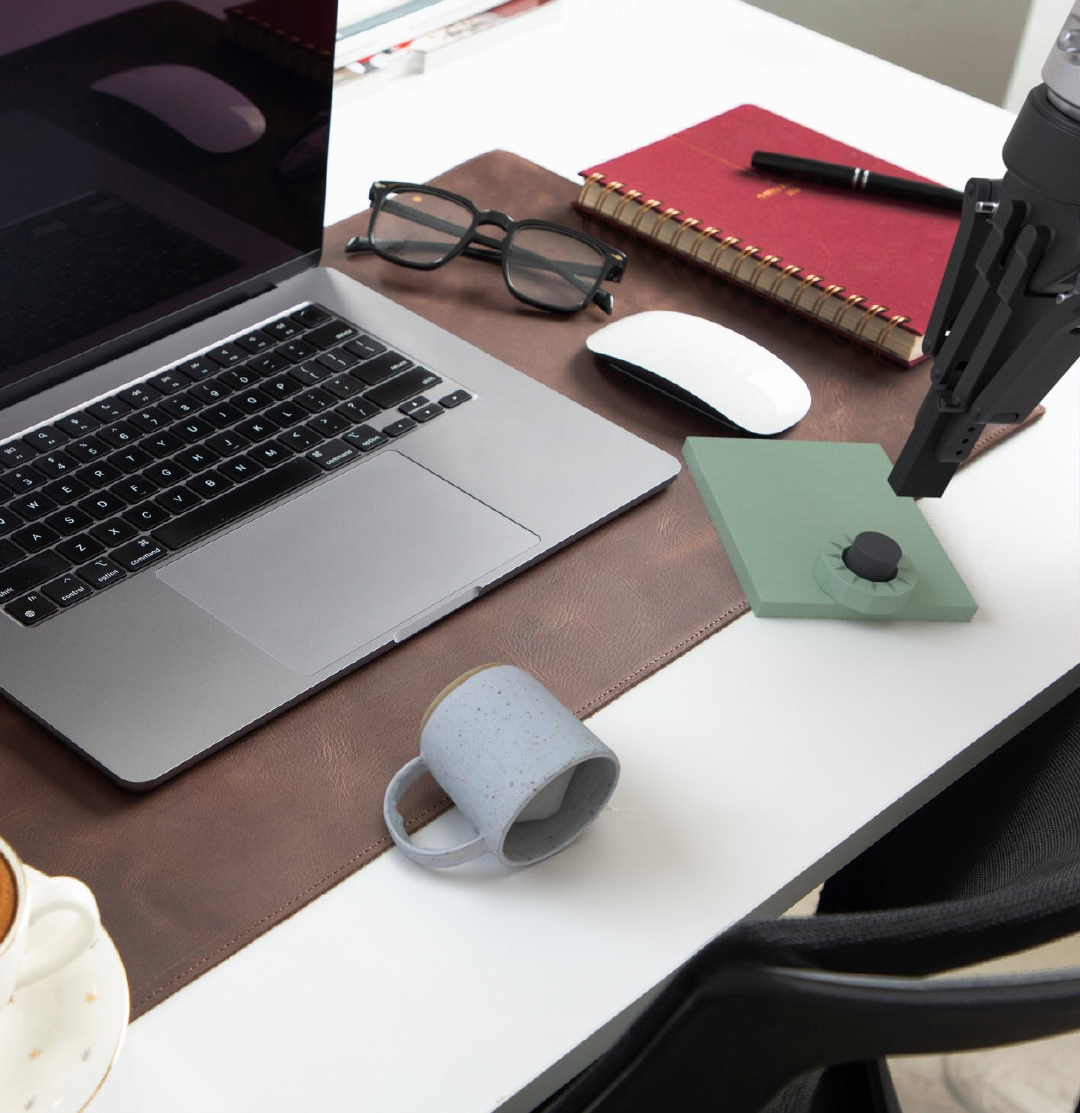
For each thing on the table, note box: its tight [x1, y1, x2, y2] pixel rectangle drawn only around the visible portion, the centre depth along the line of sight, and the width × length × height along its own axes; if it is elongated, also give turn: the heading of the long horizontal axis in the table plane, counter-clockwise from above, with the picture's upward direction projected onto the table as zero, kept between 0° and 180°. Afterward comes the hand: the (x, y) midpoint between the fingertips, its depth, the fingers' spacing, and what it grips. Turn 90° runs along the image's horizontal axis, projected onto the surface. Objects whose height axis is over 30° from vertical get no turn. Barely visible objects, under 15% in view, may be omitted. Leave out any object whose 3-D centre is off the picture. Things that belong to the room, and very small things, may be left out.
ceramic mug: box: [383, 661, 622, 869], centre depth 73 cm, size 11×8×8 cm
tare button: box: [845, 531, 902, 582], centre depth 89 cm, size 3×3×2 cm
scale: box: [681, 436, 979, 623], centre depth 94 cm, size 17×14×3 cm
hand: (913, 488), depth 84 cm, fingers closed
